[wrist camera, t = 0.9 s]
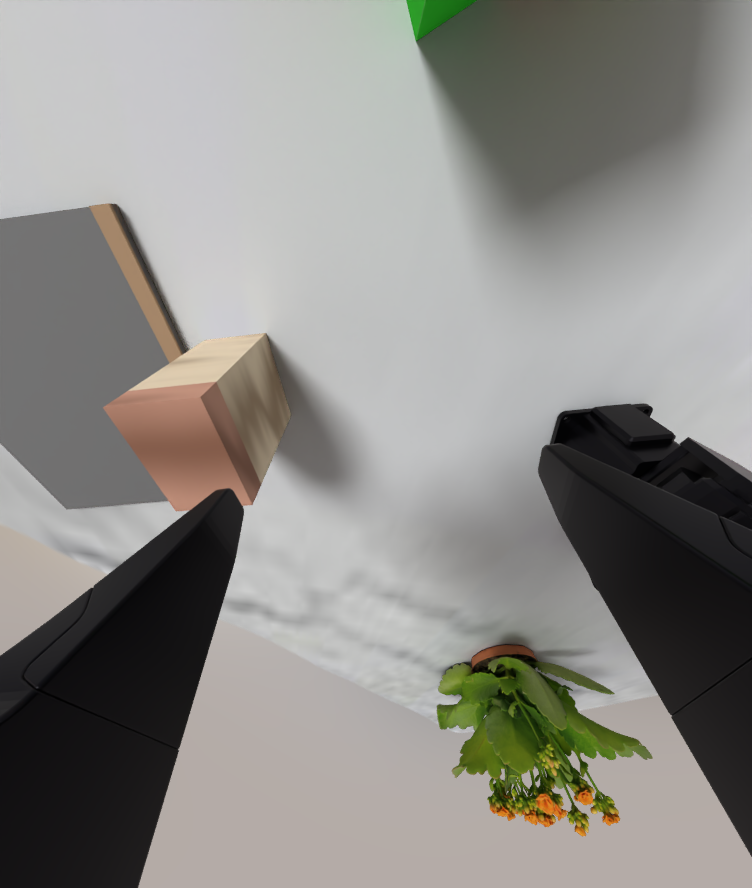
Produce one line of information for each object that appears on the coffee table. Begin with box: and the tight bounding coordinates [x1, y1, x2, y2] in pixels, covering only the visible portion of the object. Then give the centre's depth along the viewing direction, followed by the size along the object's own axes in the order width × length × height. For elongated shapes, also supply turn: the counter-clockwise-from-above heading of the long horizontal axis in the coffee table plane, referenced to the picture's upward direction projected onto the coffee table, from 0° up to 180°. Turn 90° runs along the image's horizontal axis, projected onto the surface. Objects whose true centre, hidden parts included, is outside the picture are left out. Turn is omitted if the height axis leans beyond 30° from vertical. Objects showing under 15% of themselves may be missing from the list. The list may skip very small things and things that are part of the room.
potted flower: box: [437, 645, 652, 836], centre depth 41 cm, size 25×24×18 cm
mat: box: [0, 204, 186, 509], centre depth 21 cm, size 20×17×1 cm
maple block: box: [103, 333, 291, 511], centre depth 17 cm, size 6×4×9 cm, turn 6°
